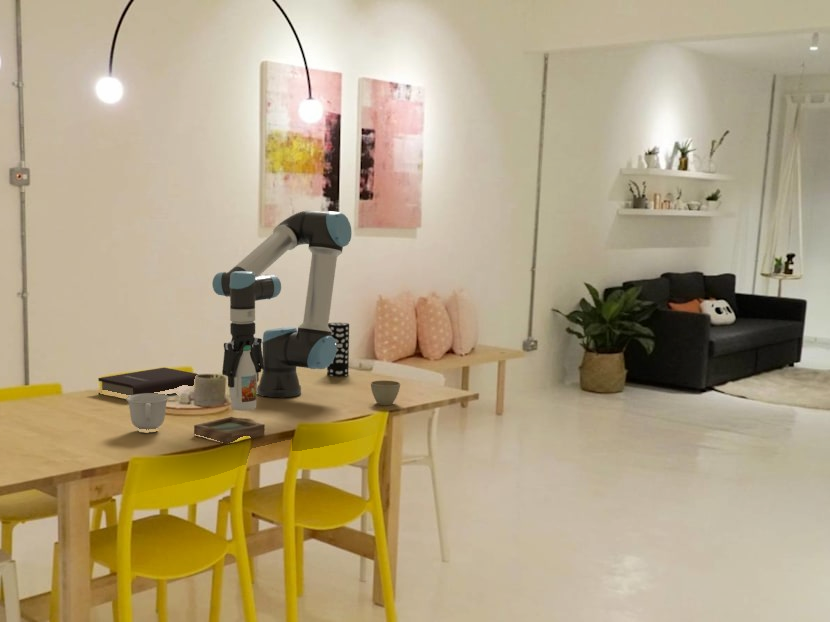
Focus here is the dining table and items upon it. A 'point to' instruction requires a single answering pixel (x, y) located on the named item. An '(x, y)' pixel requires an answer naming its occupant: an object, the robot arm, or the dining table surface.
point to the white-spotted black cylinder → (340, 350)
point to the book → (147, 381)
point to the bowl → (385, 391)
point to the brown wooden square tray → (229, 429)
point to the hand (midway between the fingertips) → (243, 394)
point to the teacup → (147, 409)
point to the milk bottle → (245, 383)
